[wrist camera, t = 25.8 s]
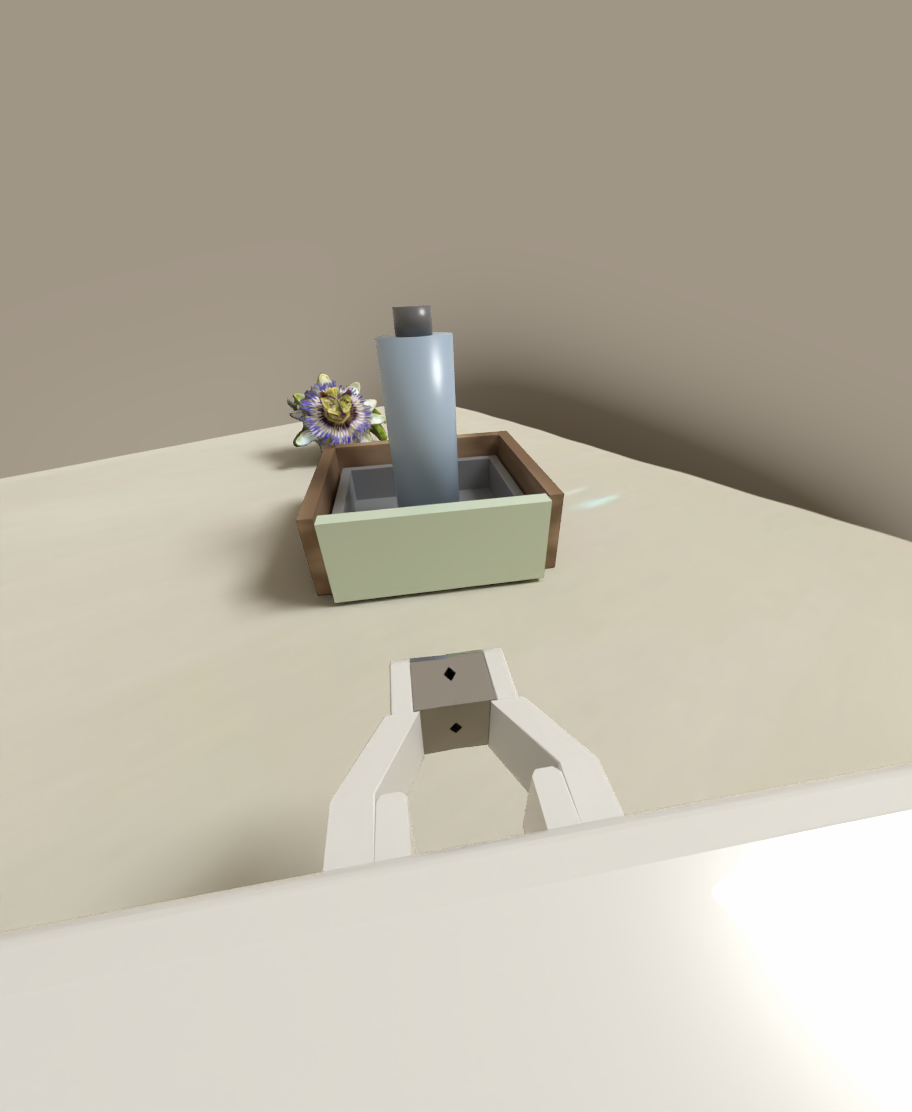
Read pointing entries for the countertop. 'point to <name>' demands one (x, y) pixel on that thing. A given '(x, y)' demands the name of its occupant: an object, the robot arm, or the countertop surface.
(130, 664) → the countertop surface
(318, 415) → the passion flower
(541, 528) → the drawer
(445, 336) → the lotion bottle
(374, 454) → the brown open box
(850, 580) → the countertop surface
